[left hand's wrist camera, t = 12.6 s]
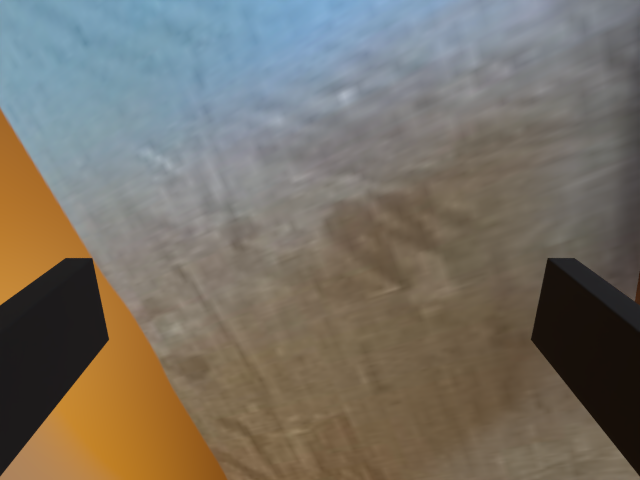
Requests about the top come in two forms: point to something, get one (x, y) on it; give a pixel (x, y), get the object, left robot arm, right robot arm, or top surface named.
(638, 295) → the box
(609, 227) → the top surface
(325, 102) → the top surface
